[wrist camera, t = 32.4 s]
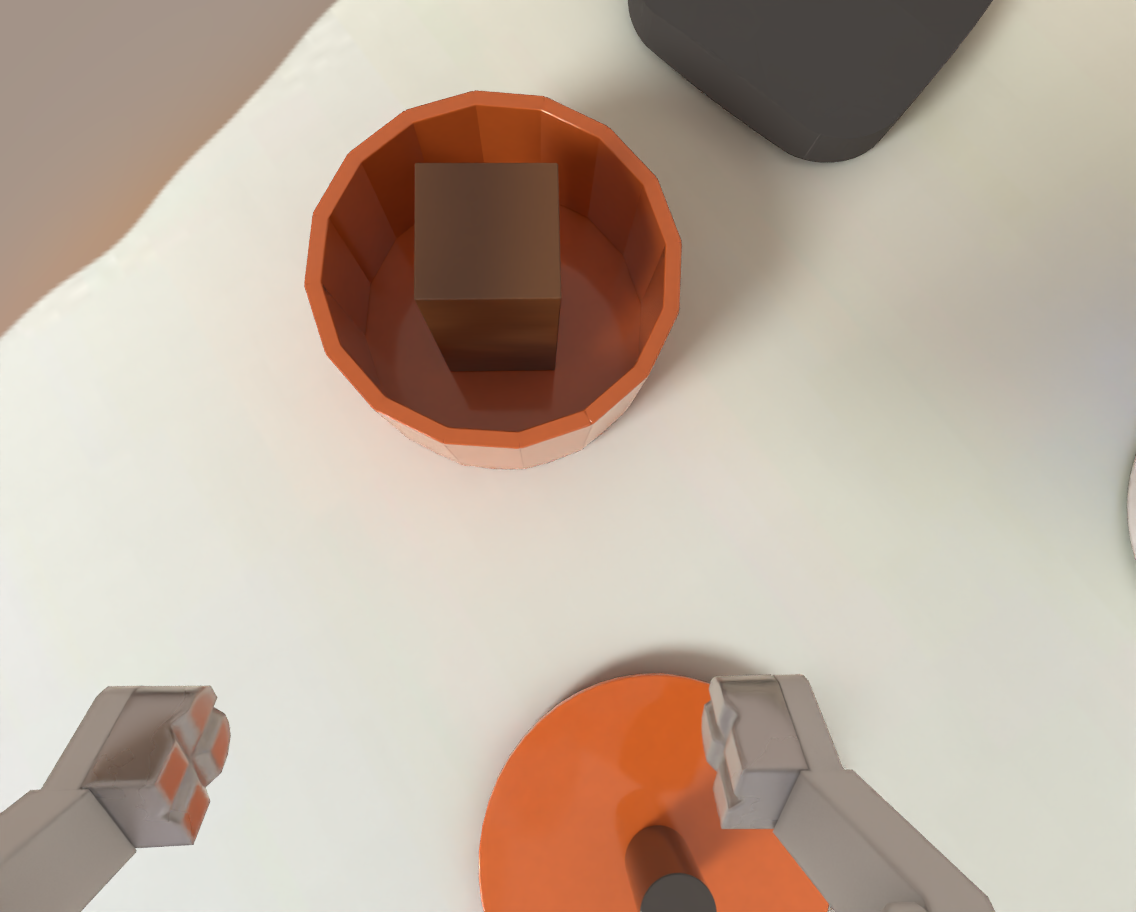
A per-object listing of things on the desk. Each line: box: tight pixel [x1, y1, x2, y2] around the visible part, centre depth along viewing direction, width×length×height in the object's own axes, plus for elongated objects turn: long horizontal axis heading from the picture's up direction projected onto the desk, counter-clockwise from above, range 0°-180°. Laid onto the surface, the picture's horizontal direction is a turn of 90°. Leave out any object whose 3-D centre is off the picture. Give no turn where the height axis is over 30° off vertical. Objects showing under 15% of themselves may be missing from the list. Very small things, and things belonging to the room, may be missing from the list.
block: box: [414, 163, 561, 371], centre depth 25 cm, size 5×5×8 cm
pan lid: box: [479, 673, 829, 912], centre depth 25 cm, size 14×14×5 cm
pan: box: [304, 90, 682, 469], centre depth 27 cm, size 13×13×6 cm
